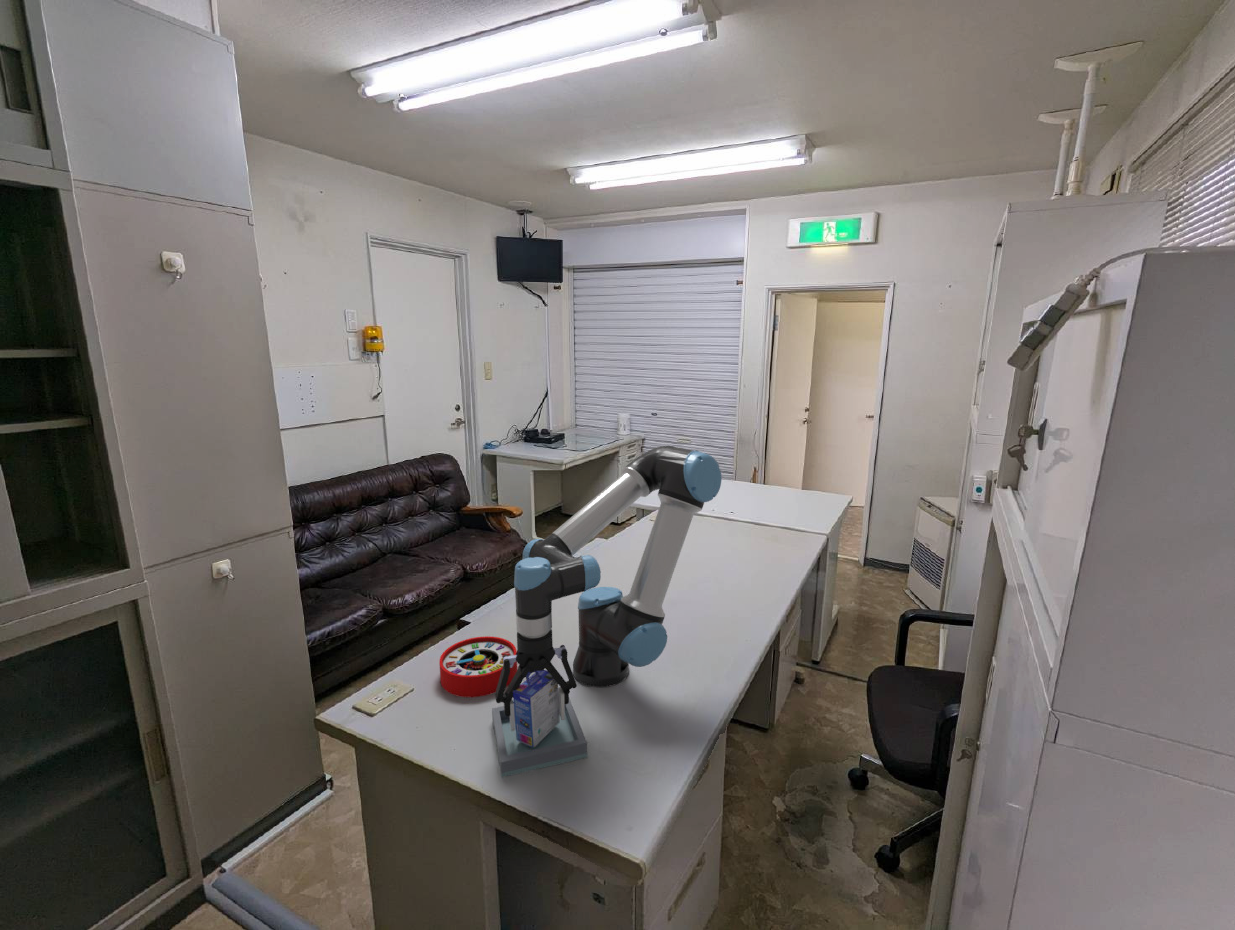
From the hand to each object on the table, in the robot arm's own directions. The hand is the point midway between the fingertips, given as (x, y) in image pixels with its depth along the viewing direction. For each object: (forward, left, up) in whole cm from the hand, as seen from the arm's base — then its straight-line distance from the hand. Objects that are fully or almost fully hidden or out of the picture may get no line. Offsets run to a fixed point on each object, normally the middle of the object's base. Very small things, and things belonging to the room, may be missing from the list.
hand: (537, 721), depth 121 cm
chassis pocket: (0, 0, -4) cm, 4 cm away
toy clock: (+10, -30, -5) cm, 32 cm away
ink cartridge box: (0, 0, -3) cm, 3 cm away
